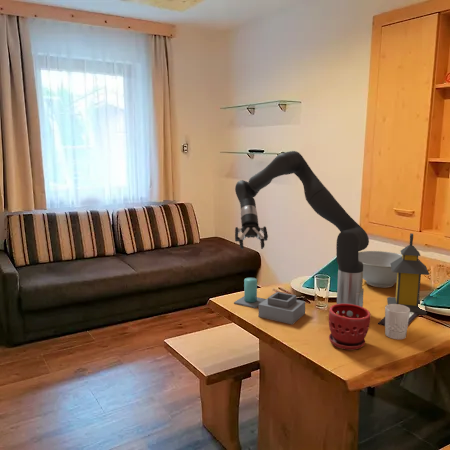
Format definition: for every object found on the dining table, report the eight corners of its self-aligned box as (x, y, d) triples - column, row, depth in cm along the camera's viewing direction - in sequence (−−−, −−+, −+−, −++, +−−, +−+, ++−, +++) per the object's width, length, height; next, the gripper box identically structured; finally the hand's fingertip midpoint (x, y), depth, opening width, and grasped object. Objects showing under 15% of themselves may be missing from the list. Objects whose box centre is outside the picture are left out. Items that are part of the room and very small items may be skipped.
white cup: (396, 342, 151) (398, 314, 149) (378, 333, 158) (380, 306, 156) (412, 337, 154) (415, 309, 152) (394, 328, 161) (396, 302, 159)
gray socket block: (304, 313, 175) (305, 295, 174) (292, 324, 165) (292, 305, 164) (272, 306, 182) (272, 288, 181) (258, 316, 172) (258, 298, 171)
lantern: (388, 311, 177) (393, 236, 171) (387, 298, 191) (391, 229, 185) (427, 315, 173) (433, 238, 167) (423, 302, 186) (429, 231, 181)
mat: (266, 300, 189) (266, 299, 189) (255, 308, 181) (255, 306, 181) (245, 296, 194) (245, 294, 194) (234, 303, 186) (234, 302, 186)
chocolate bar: (377, 322, 165) (394, 308, 179) (377, 325, 165) (394, 310, 179) (403, 329, 160) (418, 313, 173) (402, 331, 160) (417, 315, 174)
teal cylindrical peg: (259, 299, 188) (259, 278, 187) (252, 303, 184) (252, 282, 183) (248, 297, 191) (248, 277, 190) (241, 301, 187) (241, 280, 185)
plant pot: (334, 354, 143) (335, 318, 141) (323, 336, 156) (324, 303, 153) (374, 353, 144) (377, 317, 141) (360, 335, 156) (362, 302, 154)
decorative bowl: (376, 271, 228) (378, 248, 226) (423, 286, 206) (425, 260, 203) (337, 280, 215) (339, 255, 212) (383, 297, 192) (385, 270, 190)
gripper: (233, 213, 201) (236, 244, 191) (265, 212, 201) (269, 243, 192) (233, 222, 207) (235, 253, 198) (264, 221, 207) (267, 252, 198)
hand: (252, 248), depth 195 cm, fingers open, 8 cm apart
